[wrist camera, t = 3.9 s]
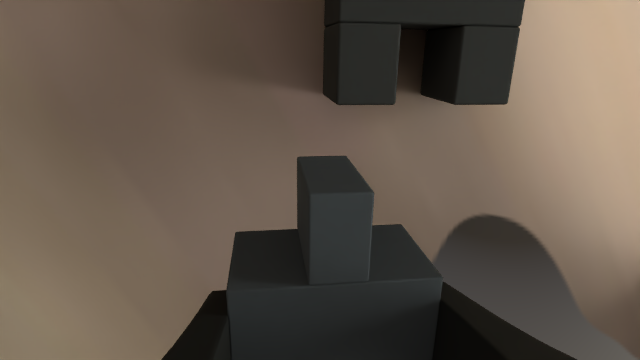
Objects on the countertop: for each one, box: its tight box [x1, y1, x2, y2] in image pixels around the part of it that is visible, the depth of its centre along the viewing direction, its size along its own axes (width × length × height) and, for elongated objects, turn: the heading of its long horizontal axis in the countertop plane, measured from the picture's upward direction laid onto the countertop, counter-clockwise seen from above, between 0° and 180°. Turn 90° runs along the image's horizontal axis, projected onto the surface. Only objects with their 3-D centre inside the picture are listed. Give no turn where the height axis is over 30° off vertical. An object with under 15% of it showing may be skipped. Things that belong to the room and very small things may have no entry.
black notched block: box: [323, 0, 525, 105], centre depth 13 cm, size 6×6×3 cm
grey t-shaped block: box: [226, 156, 443, 360], centre depth 10 cm, size 6×5×3 cm
